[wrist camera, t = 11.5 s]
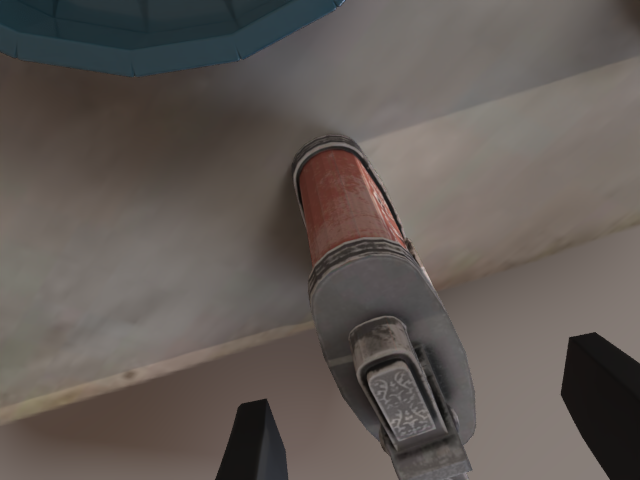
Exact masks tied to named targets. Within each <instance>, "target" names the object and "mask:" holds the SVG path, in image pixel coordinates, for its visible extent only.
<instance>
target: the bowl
mask: <svg viewBox="0 0 640 480" xmlns="http://www.w3.org/2000/svg"><path fill="white" fill-rule="evenodd" d="M345 1H346V0H0V52H1V53H3V54H6V55H8V56H10V57H12V58H18V59H19V60H22V61H29V62H35V63H42V64H48V65H54V66H61V67H67V68H74V69H80V70H87V71H93V72H100V73H106V74H113V75H119V76H126V77H134V76H135V77H144V76H150V75H156V74H163V73H169V72H175V71H181V70H188V69H194V68H200V67H206V66H213V65H219V64H225V63H231V62H238V61H239V60H240V59H246V58H248V57H249V56H251V55H253V54H255V53H257V52H259V51H261V50H262V49H264V48H266V47H268V46H270V45H272V44H274V43H275V42H277V41H279V40H281V39H283V38H285V37H287V36H289V35H290V34H292V33H294V32H296V31H298V30H300V29H302V28H303V27H305V26H307V25H309V24H311V23H313V22H315V21H316V20H318V19H320V18H322V17H324V16H326V15H328V14H329V13H331V12H333V11H335V10H336V9H337V7H340V6H341V5H342V4H343V3H344V2H345Z"/></svg>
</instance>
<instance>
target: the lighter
mask: <svg viewBox="0 0 640 480" xmlns="http://www.w3.org/2000/svg"><path fill="white" fill-rule="evenodd" d="M292 176H293V183H294V188H295V192H296V196H297V200H298V203H299V207H300V211H301V215H302V219H303V223H304V225H305V228H306V230H307V235H308V241H309V247H310V253H311V260H312V266H313V269H312V271H311V273H310V276H309V278H308V293H309V300H310V308H311V313H312V317H313V320H314V324H315V327H316V331H317V334H318V338H319V341H320V345H321V348H322V352H323V356H324V358H325V361H326V362H327V365H328V367H329V369H330V371H331V373H332V375H333V377H334V380H335V382H336V384H337V386H338V388H339V390H340V392H341V394H342V397H343V398H344V400H345V401H346V402H347V404H348V405H349V406H350V407H351V409H352V410H353V412H354V413H355V414H356V416H357V417H358V418H359V420H360V421H361V422H362V424H363V425H364V426H365V428H366V429H367V430H368V431H369V432H370V433H371V434H372V435H373V436H374V437H375V438H376V439H377V440H378V441H379V442H380V444H381V446H382V448H383V450H384V451H385V452H386V453H387V454H388V455H389V456H390V457H391V460H392V463H393V466H394V468H395V471H396V474H397V476H398V478H399V480H469V478H468V476H467V473H466V472H469V471H471V470H472V468H471V465H470V462H469V459H468V457H467V454H466V452H465V449H464V447H463V445H464V444H466V443H467V442H468V440H469V439H470V438H471V437H472V436H473V434H474V431H475V428H476V413H475V390H474V386H473V382H472V378H471V373H470V369H469V364H468V360H467V356H466V352H465V350H464V348H463V346H462V344H461V342H460V339H459V337H458V335H457V333H456V331H455V329H454V327H453V325H452V322H451V320H450V318H449V316H448V314H447V312H446V310H445V308H444V306H443V304H442V301H441V299H440V297H439V295H438V293H437V292H436V290H435V289H434V287H433V285H432V283H431V281H430V279H429V277H428V274H427V272H426V270H425V268H424V266H423V264H422V262H421V260H420V258H419V256H418V254H417V252H416V250H415V248H414V246H413V244H412V242H411V240H409V239H408V238H406V237H405V233H404V229H403V226H402V222H401V220H400V218H399V216H398V214H397V212H396V210H395V208H394V206H393V203H392V201H391V199H390V197H389V195H388V193H387V191H386V189H385V187H384V185H383V183H382V181H381V179H380V177H379V175H378V174H377V172H376V171H375V169H374V168H373V166H372V165H371V163H370V162H369V160H368V159H367V157H366V156H365V154H364V153H363V151H362V150H361V148H360V146H359V145H358V144H357V143H355V142H354V141H353V140H352V139H350V138H348V137H345V136H343V135H329V134H328V135H325V136H321V137H317V138H315V139H313V140H311V141H310V142H308V143H307V144H305V145H304V146H303V147H302V148H301V149H300V151H299V152H298V153H297V154H296V156H295V159H294V161H293V164H292Z"/></svg>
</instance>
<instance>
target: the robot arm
mask: <svg viewBox="0 0 640 480" xmlns="http://www.w3.org/2000/svg"><path fill="white" fill-rule="evenodd" d="M561 396H562V398H563V400H564V402H565V404H566V406H567V409H568V410H569V413H570V415H571V417H572V419H573V421H574V423H575V424H576V426H577V428H578V430H579V432H580V434H581V436H582V438H583V439H584V441H585V442H586V444H587V445H588V447H589V448H590V450H591V451H592V453H593V455H594V456H595V457H596V459H597V461H598V462H599V464H600V465H601V467H602V468H603V470H604V471H605V473H606V474H607V476H608V477H609V479H610V480H640V363H638V362H637V361H636V360H634V359H633V358H631V357H630V356H628V355H627V354H626V353H624V352H623V351H621V350H620V349H619V348H617V347H616V346H614V345H613V344H611V343H610V342H609V341H607V340H606V339H604V338H603V337H601V336H600V335H598V334H597V333H596V332H594V333H589V334H584V335H579V336H574V337H570V338H569V343H568V349H567V356H566V362H565V369H564V376H563V383H562V389H561ZM215 480H288V472H287V462H286V451H285V448H284V445H283V442H282V439H281V437H280V434H279V431H278V428H277V426H276V423H275V420H274V418H273V415H272V412H271V409H270V406H269V404H268V401H267V399H262V400H258V401H253V402H248V403H243V404H241V405H240V406H239V407H238V410H237V414H236V418H235V421H234V425H233V428H232V431H231V435H230V438H229V442H228V444H227V447H226V450H225V454H224V456H223V459H222V462H221V465H220V468H219V471H218V473H217V476H216V479H215Z"/></svg>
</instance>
